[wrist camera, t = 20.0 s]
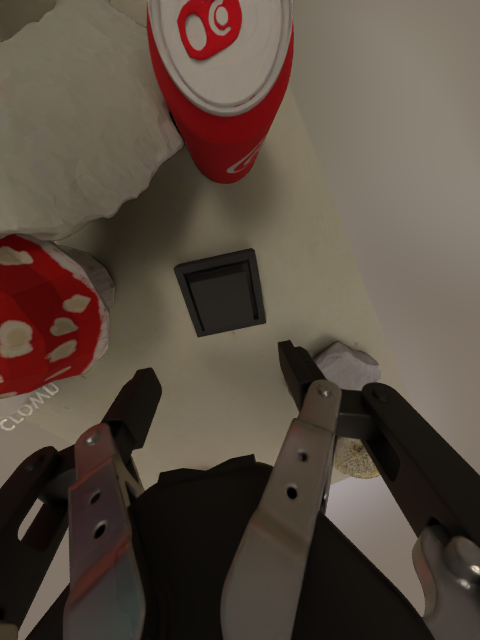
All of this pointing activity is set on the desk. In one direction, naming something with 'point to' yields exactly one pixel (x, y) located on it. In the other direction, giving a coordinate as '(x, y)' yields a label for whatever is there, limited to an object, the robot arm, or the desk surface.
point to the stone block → (347, 367)
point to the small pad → (222, 298)
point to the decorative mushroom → (49, 313)
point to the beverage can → (222, 75)
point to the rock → (78, 120)
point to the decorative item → (354, 459)
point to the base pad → (218, 263)
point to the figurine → (22, 403)
